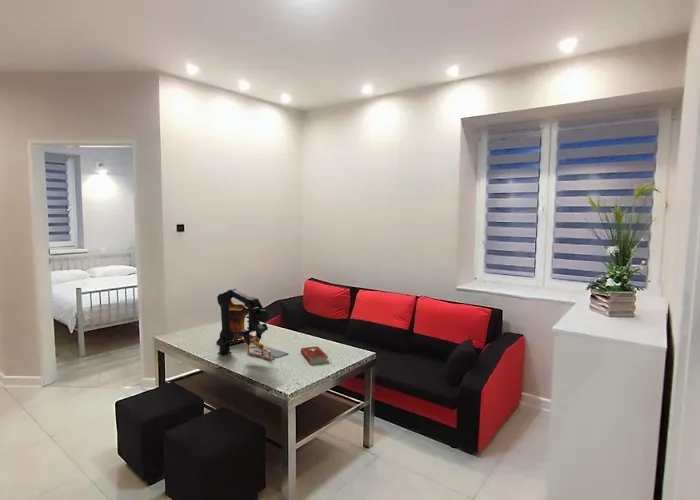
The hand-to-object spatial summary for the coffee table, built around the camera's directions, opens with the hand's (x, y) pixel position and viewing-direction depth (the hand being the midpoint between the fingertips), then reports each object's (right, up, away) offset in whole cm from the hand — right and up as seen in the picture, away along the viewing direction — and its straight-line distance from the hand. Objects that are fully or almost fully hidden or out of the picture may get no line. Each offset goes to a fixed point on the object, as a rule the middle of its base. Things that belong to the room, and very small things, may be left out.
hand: (253, 343), depth 249 cm
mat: (+7, -10, +18) cm, 22 cm away
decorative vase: (-23, -7, +47) cm, 53 cm away
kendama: (+1, -1, 0) cm, 2 cm away
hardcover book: (+36, -12, +10) cm, 40 cm away
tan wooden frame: (+2, -10, +11) cm, 15 cm away
